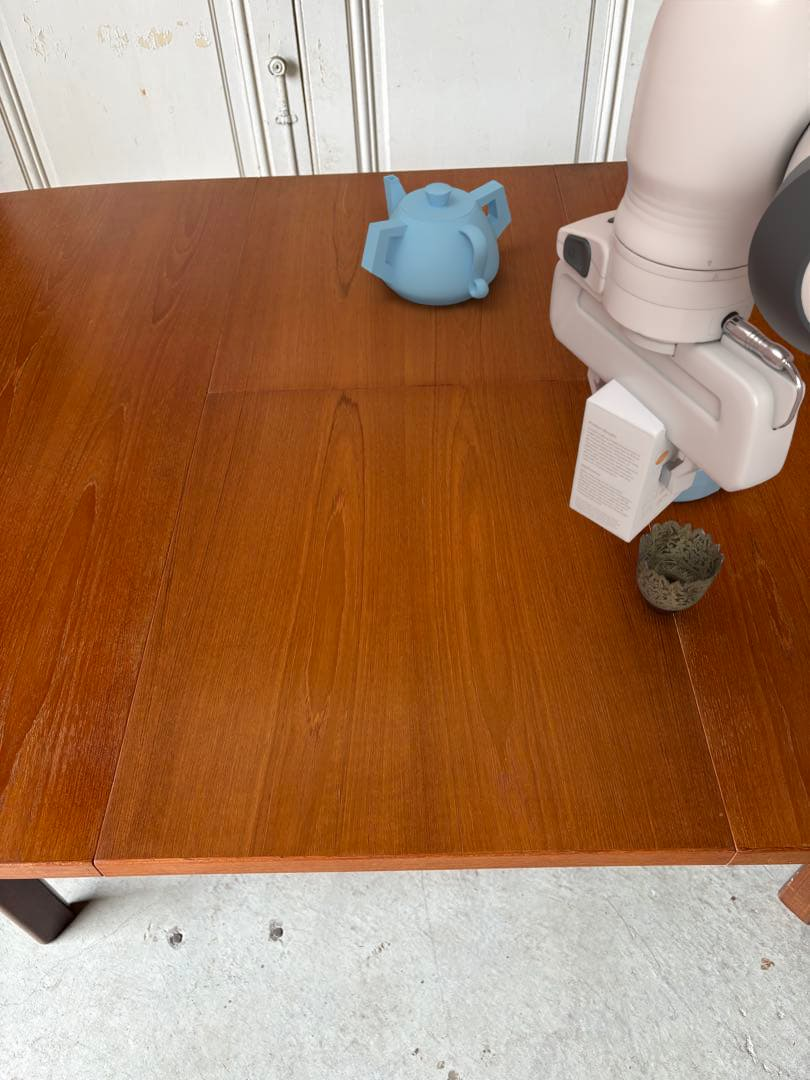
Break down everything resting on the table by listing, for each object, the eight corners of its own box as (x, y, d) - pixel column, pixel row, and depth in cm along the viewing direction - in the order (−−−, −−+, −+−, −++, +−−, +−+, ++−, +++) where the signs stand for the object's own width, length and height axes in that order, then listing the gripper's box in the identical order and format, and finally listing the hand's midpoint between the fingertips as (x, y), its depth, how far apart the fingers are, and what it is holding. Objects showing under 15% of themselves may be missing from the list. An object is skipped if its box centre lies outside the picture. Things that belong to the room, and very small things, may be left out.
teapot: (509, 253, 125) (515, 162, 115) (489, 323, 113) (494, 228, 103) (389, 242, 129) (384, 153, 118) (356, 309, 116) (348, 216, 106)
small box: (627, 455, 65) (653, 344, 57) (688, 489, 62) (724, 377, 54) (565, 508, 61) (583, 397, 54) (627, 546, 59) (656, 435, 51)
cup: (670, 647, 77) (690, 595, 71) (609, 601, 80) (623, 548, 74) (717, 604, 80) (740, 551, 74) (655, 562, 84) (673, 508, 78)
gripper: (858, 352, 43) (777, 530, 53) (621, 197, 55) (593, 365, 65) (765, 388, 41) (700, 565, 51) (542, 219, 53) (526, 389, 64)
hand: (638, 451), depth 58 cm, fingers closed on small box, 6 cm apart
